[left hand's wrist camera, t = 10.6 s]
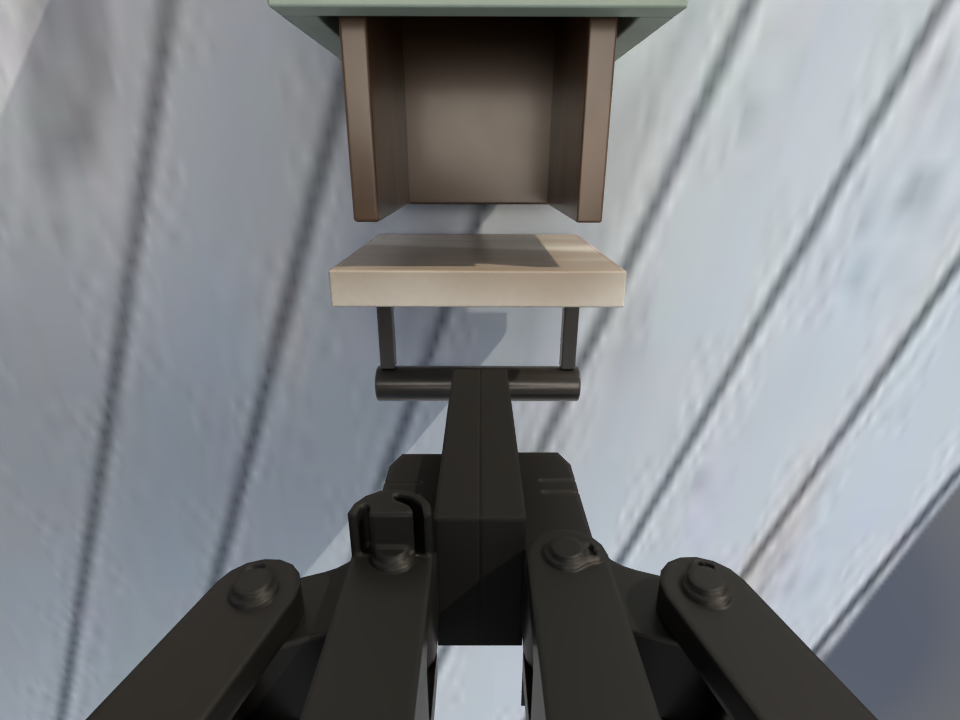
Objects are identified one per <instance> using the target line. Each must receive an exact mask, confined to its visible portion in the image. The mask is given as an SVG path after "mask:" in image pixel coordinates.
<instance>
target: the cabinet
mask: <svg viewBox="0 0 960 720" xmlns="http://www.w3.org/2000/svg"><path fill="white" fill-rule="evenodd" d="M268 5H269V7H271V8H272V9H274V10H275V11H276V12H278V13H279V14H280V15H282V16H283V17H284V18H285V19H287V20H288V21H289V22H291V23H292V24H294V25H295V26H296V27H298V28H299V29H300V30H302V31H303V32H304V33H306V34H307V35H308V36H310V37H311V38H312V39H314V40H315V41H316V42H318V43H319V44H321V45H322V46H323V47H325V48H326V49H327V50H329V51H330V52H331V53H333V54H334V55H335V56H337V57H338V58H339V59H341V46H340V33H339V21H338V16H540V17H618V25H617V37H616V50H615V61H616V60H617V59H619V58H620V57H621V56H623V55H624V54H625V53H627V52H628V51H629V50H631V49H632V48H633V47H635V46H636V45H637V44H639V43H640V42H641V41H643V40H644V39H645V38H647V37H648V36H649V35H651V34H652V33H653V32H655V31H656V30H657V29H659V28H660V27H661V26H663V25H664V24H665V23H667V22H668V21H669V20H671V19H672V18H673V17H674V16H676V15H677V14H679V13H680V12H681V11H683V10H684V9H685V8H686V7H687V5H688V0H268ZM341 60H342V59H341Z"/></svg>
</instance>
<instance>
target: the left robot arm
mask: <svg viewBox="0 0 960 720" xmlns="http://www.w3.org/2000/svg"><path fill="white" fill-rule="evenodd" d="M348 521H349V530H350V540H351V549H352V558H351V561H350V562H348V563H346V564H344V565H342V566H340V567H338V568H336V569H333V570H330V571H327V572H323V573H319V574H315V575H311V576H307V577H303V578H300V574H299V572H298V571H297V570H296V568H295V567H294V566H293V565H292V564H290V563H287V562H284V561H282V560H270V559H264V560H259V561H255V562H250V563H247V564H245V565H242V566H240V567H238V568H236V569H234V570H232V571H230V572H229V573H228V574H226V575H225V576H224V577H223V578H221V579H220V580H219V581H218V582H217V583H216V584H215V585H214V586H213V587H212V588H211V589H210V590H209V591H208V592H207V593H206V594H205V595H204V596H203V597H202V598H201V599H200V600H199V601H198V602H197V603H196V605H195V606H194V607H193V608H192V609H191V610H190V611H189V612H188V613H187V614H186V615H185V616H184V617H183V618H182V619H181V620H180V621H179V622H178V623H177V624H176V625H175V627H174V628H173V629H172V630H171V631H170V632H169V633H168V634H167V635H166V636H165V637H164V638H163V639H162V640H161V641H160V642H159V643H158V644H157V645H156V646H155V648H154V649H153V650H152V651H151V652H150V653H149V654H148V655H147V656H146V657H145V658H144V659H143V660H142V661H141V662H140V663H139V664H138V665H137V666H136V667H135V668H134V670H133V671H132V672H131V673H130V674H129V675H128V676H127V677H126V678H125V679H124V680H123V681H122V682H121V683H120V684H119V685H118V686H117V687H116V688H115V689H114V691H113V692H112V693H111V694H110V695H109V696H108V697H107V698H106V699H105V700H104V701H103V702H102V703H101V704H100V705H99V706H98V707H97V708H96V709H95V710H94V711H93V713H92V714H91V715H90V716H89V717H88V718H87V719H86V720H434V711H435V699H436V686H437V674H438V673H437V642H438V645H522V640H523V673H522V699H521V706H525V711H526V720H878V719H877V718H876V717H875V716H874V715H873V714H872V713H871V712H870V711H869V710H868V709H867V708H866V707H865V706H864V705H863V704H862V703H861V702H860V701H859V700H858V699H857V697H856V696H855V695H854V694H853V693H852V692H851V691H850V690H849V689H848V688H847V687H846V686H845V685H844V684H843V683H842V682H841V681H840V680H839V679H838V678H837V677H836V676H835V675H834V673H833V672H832V671H831V670H830V669H829V668H828V667H827V666H826V665H825V664H824V663H823V662H822V661H821V660H820V659H819V658H818V657H817V656H816V655H815V654H814V653H813V652H812V651H811V650H810V648H809V647H808V646H807V645H806V644H805V643H804V642H803V641H802V640H801V639H800V638H799V637H798V636H797V635H796V634H795V633H794V632H793V631H792V630H791V629H790V628H789V627H788V626H787V625H786V623H785V622H784V621H783V620H782V619H781V618H780V617H779V616H778V615H777V614H776V613H775V612H774V611H773V610H772V609H771V608H770V607H769V606H768V605H767V604H766V603H765V602H764V601H763V600H762V598H761V597H760V596H759V595H758V594H757V593H756V592H755V591H754V590H753V589H752V588H751V587H750V586H749V585H748V584H747V583H746V582H745V581H744V580H743V579H742V578H741V577H739V576H738V575H737V574H736V573H734V572H733V571H732V570H731V569H729V568H727V567H725V566H723V565H721V564H718V563H716V562H714V561H711V560H706V559H702V558H698V557H684V558H678V559H675V560H673V561H670V562H668V563H667V564H666V565H665V567H664V568H663V569H662V570H661V574H660V576H658V575H654V574H650V573H645V572H641V571H637V570H634V569H630V568H627V567H624V566H622V565H620V564H618V563H616V562H614V561H612V560H611V559H609V557H608V555H607V553H606V551H605V550H604V548H603V546H602V545H601V544H600V543H599V542H597V541H596V540H595V539H593V538H592V535H591V532H590V529H589V525H588V522H587V519H586V515H585V512H584V509H583V505H582V502H581V499H580V495H579V494H578V489H577V485H576V482H575V479H574V475H573V472H572V469H571V465H570V464H569V463H568V462H567V461H566V460H565V459H564V458H563V457H562V456H561V455H560V454H559V453H518V450H517V442H516V434H515V427H514V419H513V412H512V404H511V396H510V389H509V381H508V373H507V369H453V373H452V381H451V389H450V396H449V404H448V412H447V419H446V427H445V434H444V442H443V450H442V454H402V455H401V456H400V457H399V458H398V459H397V460H396V461H395V462H394V463H393V464H392V465H391V466H390V467H389V471H388V474H387V477H386V483H385V484H384V487H383V491H379V492H376V493H373V494H371V495H368V496H365V497H364V498H362V499H361V500H359V501H358V502H357V503H355V504H354V505H353V507H352V508H351V510H350V511H349V513H348Z"/></svg>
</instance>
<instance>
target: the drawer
mask: <svg viewBox="0 0 960 720" xmlns="http://www.w3.org/2000/svg"><path fill="white" fill-rule="evenodd" d="M338 21H339V33H340V46H341V59H342V72H343V85H344V97H345V110H346V123H347V136H348V148H349V161H350V174H351V187H352V200H353V212H354V220H355V221H357V222H377V221H379V220H381V219H383V218H385V217H386V216H388V215H390V214H391V213H393V212H395V211H397V210H398V209H400V208H402V207H404V206H405V205H407V204H549V205H550V206H552V207H553V208H555V209H557V210H558V211H560V212H562V213H563V214H565V215H566V216H568V217H570V218H571V219H573V220H575V221H576V222H580V223H600V222H601V221H602V210H603V198H604V186H605V173H606V161H607V149H608V136H609V124H610V111H611V99H612V87H613V74H614V62H615V50H616V37H617V25H618V17H540V16H338ZM626 274H627V272H626V271H625V270H624V269H622V268H621V267H620V266H618V265H617V264H616V263H614V262H613V261H612V260H610V259H609V258H608V257H606V256H605V255H604V254H602V253H601V252H599V251H598V250H597V249H595V248H594V247H593V246H591V245H590V244H589V243H587V242H586V241H585V240H583V239H582V238H581V237H579V236H578V235H530V234H379V235H378V236H377V237H375V238H374V239H372V240H371V241H370V242H368V243H367V244H365V245H364V246H363V247H361V248H360V249H359V250H357V251H356V252H354V253H353V254H352V255H350V256H349V257H347V258H346V259H345V260H343V261H342V262H340V263H339V264H338V265H336V266H335V267H333V268H332V269H331V270H329V280H330V290H331V301H332V306H334V307H377V319H378V333H379V348H380V363H381V366H378V368H377V371H376V377H375V391H376V397H377V399H378V400H379V401H449V396H450V389H451V381H452V373H453V369H507V373H508V381H509V389H510V396H511V401H578V399H579V396H580V386H581V382H580V372H579V369H578V367H577V366H575V361H576V347H577V332H578V318H579V307H623V304H624V294H625V284H626ZM393 307H563V310H562V327H561V344H560V361H559V364H560V366H396V364H397V362H396V344H395V327H394V309H393Z"/></svg>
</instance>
